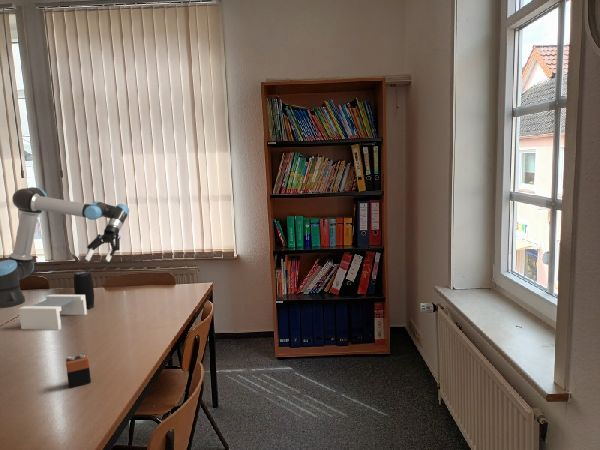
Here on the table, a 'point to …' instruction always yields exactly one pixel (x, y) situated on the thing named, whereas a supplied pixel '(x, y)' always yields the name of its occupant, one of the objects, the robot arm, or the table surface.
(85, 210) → the robot arm
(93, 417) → the table surface
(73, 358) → the battery
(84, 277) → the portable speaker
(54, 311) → the square spool
